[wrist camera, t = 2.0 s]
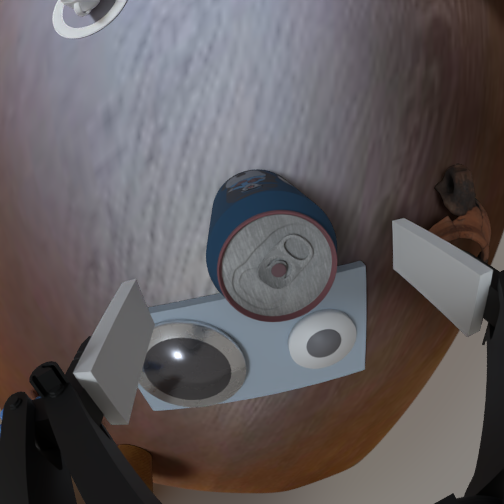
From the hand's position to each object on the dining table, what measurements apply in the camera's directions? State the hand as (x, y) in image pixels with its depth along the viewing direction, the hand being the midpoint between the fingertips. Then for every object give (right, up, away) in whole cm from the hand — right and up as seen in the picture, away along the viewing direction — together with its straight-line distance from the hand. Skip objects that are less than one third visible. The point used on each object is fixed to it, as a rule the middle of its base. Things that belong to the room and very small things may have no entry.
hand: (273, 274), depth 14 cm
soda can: (-1, +5, +11) cm, 12 cm away
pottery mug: (+18, +5, +13) cm, 23 cm away
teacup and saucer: (-13, +26, +2) cm, 29 cm away
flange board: (-2, -9, +16) cm, 18 cm away
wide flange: (-8, -11, +15) cm, 20 cm away
